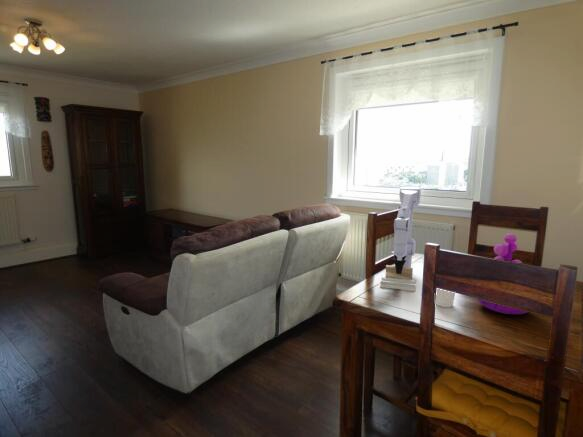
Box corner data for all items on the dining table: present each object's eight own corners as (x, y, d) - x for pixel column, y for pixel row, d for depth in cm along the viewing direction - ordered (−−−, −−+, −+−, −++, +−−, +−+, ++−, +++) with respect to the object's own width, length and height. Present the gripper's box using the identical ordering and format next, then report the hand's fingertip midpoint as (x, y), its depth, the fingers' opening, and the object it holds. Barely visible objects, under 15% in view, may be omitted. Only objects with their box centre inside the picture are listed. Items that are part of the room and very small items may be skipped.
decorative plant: (503, 323, 119) (513, 240, 114) (464, 302, 137) (470, 230, 132) (544, 317, 124) (555, 237, 119) (501, 298, 142) (509, 227, 137)
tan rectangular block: (385, 278, 165) (386, 265, 164) (411, 281, 161) (412, 267, 160) (385, 280, 163) (386, 266, 162) (411, 283, 159) (412, 269, 158)
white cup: (458, 308, 132) (460, 283, 130) (437, 308, 132) (439, 283, 130) (449, 300, 139) (451, 277, 138) (429, 300, 140) (431, 276, 138)
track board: (381, 281, 161) (381, 276, 160) (415, 285, 156) (415, 280, 155) (380, 286, 154) (380, 281, 154) (415, 291, 149) (415, 285, 149)
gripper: (392, 239, 167) (391, 266, 169) (390, 246, 153) (389, 274, 156) (407, 240, 165) (405, 267, 167) (407, 247, 151) (405, 276, 153)
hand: (398, 271), depth 161 cm, fingers open, 7 cm apart
